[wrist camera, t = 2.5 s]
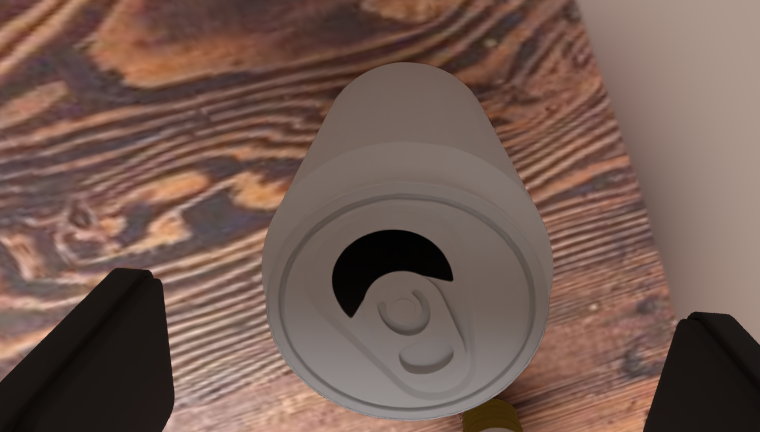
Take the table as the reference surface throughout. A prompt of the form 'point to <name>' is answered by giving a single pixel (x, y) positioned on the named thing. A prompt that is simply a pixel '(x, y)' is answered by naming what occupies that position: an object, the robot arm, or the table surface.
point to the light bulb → (491, 418)
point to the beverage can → (407, 253)
